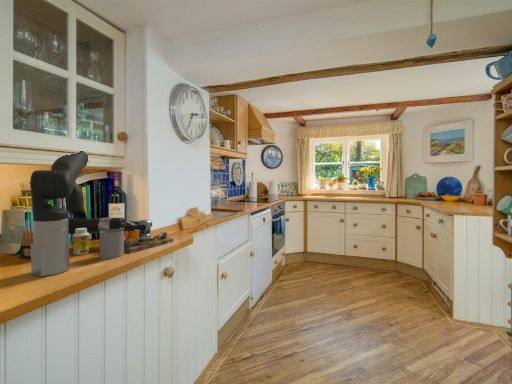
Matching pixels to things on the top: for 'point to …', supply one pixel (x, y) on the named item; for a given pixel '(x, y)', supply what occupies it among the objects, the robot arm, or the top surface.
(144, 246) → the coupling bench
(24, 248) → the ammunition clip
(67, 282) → the top surface
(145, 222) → the universal joint
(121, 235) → the cup
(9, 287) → the top surface
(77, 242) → the supplement bottle
